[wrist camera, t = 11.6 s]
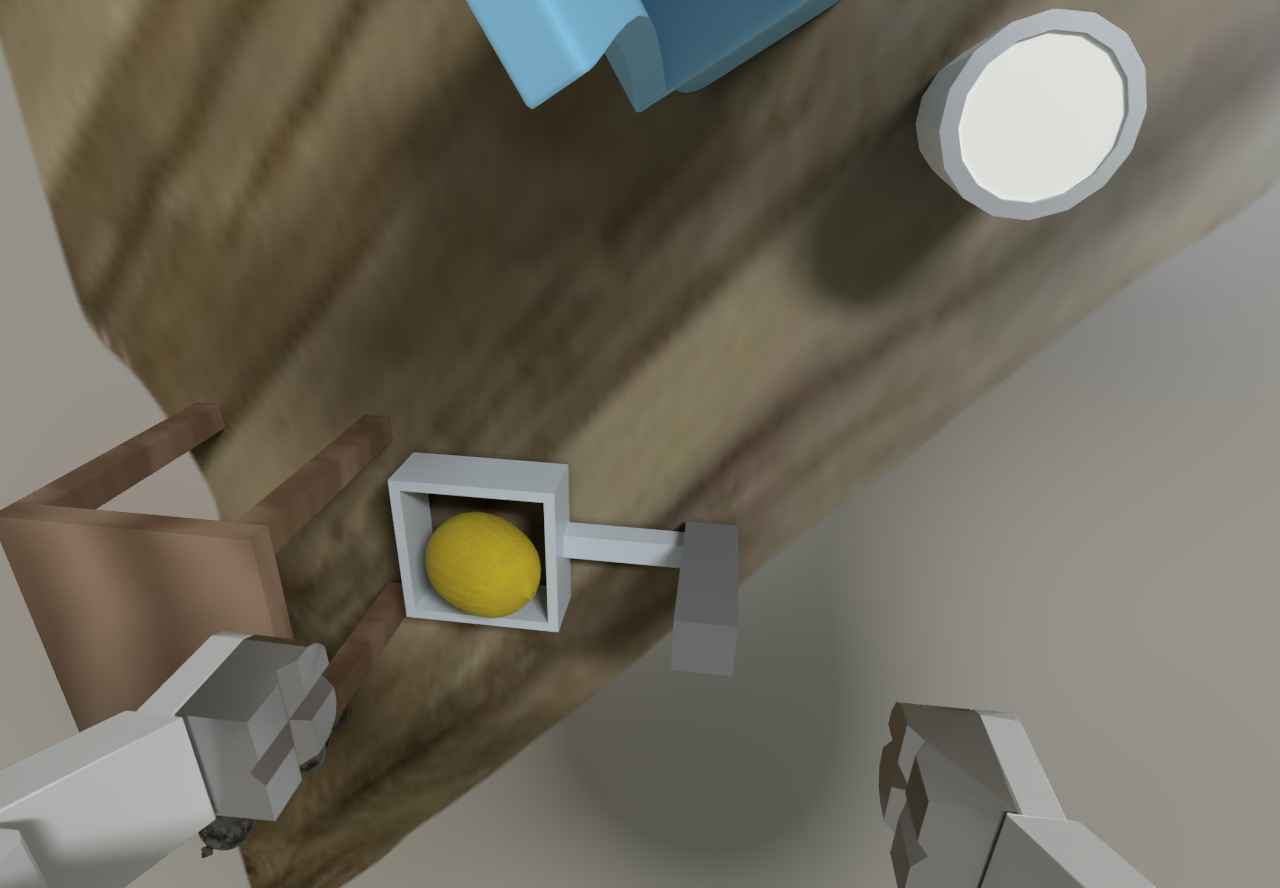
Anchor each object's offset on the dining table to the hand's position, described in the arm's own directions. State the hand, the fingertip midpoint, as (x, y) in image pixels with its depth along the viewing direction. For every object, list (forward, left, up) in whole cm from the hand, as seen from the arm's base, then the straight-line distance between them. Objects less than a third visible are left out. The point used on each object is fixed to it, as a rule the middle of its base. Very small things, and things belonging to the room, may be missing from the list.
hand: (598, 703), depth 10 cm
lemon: (+3, -22, -28) cm, 35 cm away
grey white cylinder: (+2, +14, -29) cm, 32 cm away
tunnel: (-3, -28, -29) cm, 40 cm away
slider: (+8, -15, -29) cm, 33 cm away
